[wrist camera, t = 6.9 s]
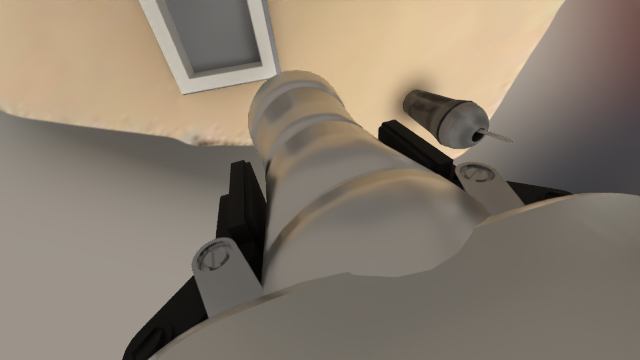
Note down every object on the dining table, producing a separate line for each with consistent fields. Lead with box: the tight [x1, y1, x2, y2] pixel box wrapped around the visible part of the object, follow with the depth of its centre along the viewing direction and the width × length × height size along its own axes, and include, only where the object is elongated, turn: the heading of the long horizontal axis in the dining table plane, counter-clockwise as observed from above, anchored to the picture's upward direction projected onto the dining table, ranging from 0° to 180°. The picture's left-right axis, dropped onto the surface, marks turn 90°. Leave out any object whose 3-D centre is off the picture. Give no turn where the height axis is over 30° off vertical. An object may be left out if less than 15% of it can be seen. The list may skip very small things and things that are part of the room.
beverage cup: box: [403, 90, 514, 149], centre depth 37 cm, size 7×7×20 cm
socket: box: [139, 0, 281, 95], centre depth 28 cm, size 14×14×5 cm
